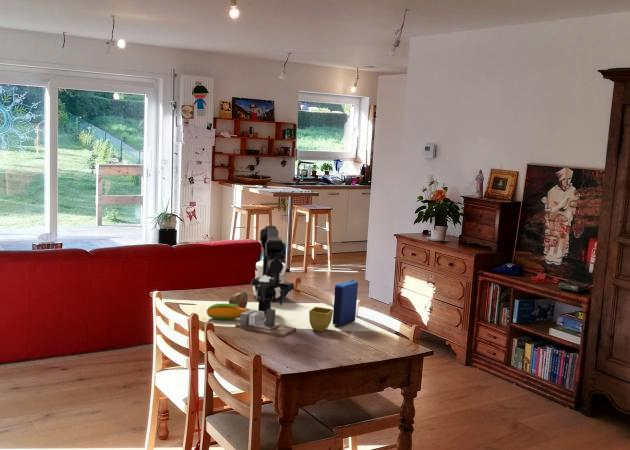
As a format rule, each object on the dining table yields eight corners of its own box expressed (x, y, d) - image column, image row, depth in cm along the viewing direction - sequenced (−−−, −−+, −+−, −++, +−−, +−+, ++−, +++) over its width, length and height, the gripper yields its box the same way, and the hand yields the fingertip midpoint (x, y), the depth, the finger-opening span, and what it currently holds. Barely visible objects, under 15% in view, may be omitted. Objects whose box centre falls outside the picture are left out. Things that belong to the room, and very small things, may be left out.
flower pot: (332, 328, 310) (333, 309, 308) (326, 333, 301) (327, 313, 300) (314, 325, 312) (315, 306, 311) (307, 330, 304) (308, 310, 303)
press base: (249, 320, 314) (250, 307, 313) (295, 330, 303) (296, 317, 302) (235, 326, 303) (235, 313, 303) (282, 337, 293) (282, 323, 292)
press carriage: (258, 321, 310) (259, 304, 308) (279, 325, 305) (280, 308, 304) (248, 325, 302) (249, 308, 301) (270, 330, 298) (271, 312, 296)
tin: (233, 314, 323) (233, 297, 321) (227, 313, 324) (227, 296, 322) (247, 307, 336) (248, 290, 335) (242, 306, 338) (242, 289, 336)
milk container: (252, 293, 365) (253, 259, 363) (284, 294, 367) (286, 261, 364) (252, 301, 348) (254, 266, 346) (286, 302, 350) (288, 267, 347)
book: (347, 319, 325) (350, 278, 322) (357, 322, 322) (360, 280, 319) (330, 325, 313) (333, 283, 311) (340, 328, 310) (343, 285, 308)
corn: (207, 300, 316) (250, 301, 319) (206, 316, 317) (250, 316, 320) (206, 305, 309) (251, 306, 311) (206, 321, 310) (250, 322, 313)
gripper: (245, 268, 295) (243, 303, 297) (282, 274, 287) (280, 310, 289) (258, 264, 305) (257, 298, 307) (295, 270, 297) (293, 305, 299)
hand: (271, 303), depth 300 cm, fingers open, 9 cm apart
